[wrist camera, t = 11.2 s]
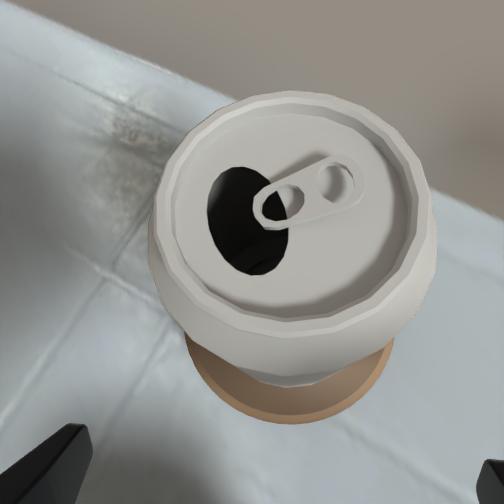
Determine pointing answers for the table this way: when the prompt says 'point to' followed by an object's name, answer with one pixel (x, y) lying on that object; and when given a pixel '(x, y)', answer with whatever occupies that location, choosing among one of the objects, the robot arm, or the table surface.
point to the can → (292, 235)
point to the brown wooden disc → (288, 399)
